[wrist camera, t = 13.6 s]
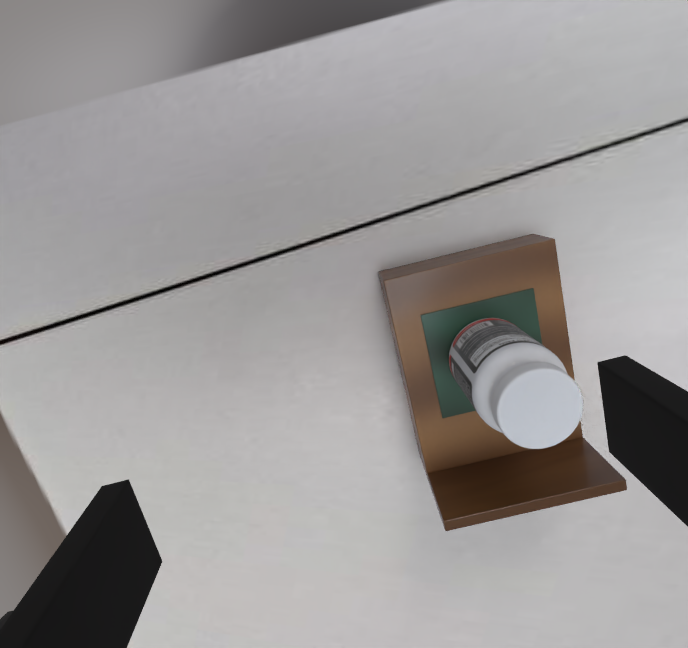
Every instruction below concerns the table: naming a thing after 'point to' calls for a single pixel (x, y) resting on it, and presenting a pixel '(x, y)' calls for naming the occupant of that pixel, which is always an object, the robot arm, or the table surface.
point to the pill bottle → (515, 383)
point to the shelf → (452, 404)
